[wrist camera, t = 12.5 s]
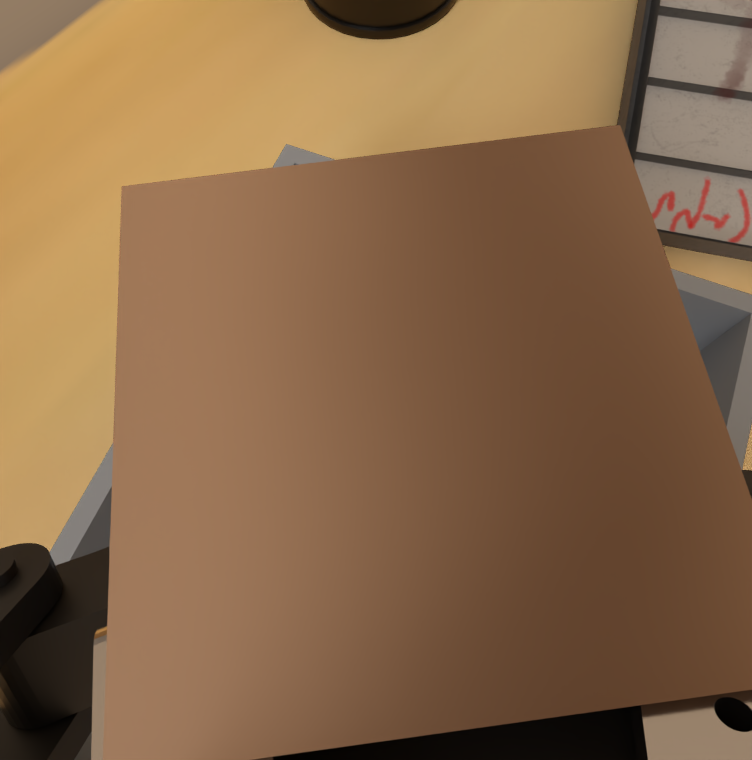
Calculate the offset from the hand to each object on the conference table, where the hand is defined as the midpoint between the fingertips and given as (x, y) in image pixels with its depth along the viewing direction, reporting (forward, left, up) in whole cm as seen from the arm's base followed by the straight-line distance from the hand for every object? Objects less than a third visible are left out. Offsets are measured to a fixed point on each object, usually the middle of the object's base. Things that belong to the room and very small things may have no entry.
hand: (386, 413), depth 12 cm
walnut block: (+1, -2, -5) cm, 5 cm away
